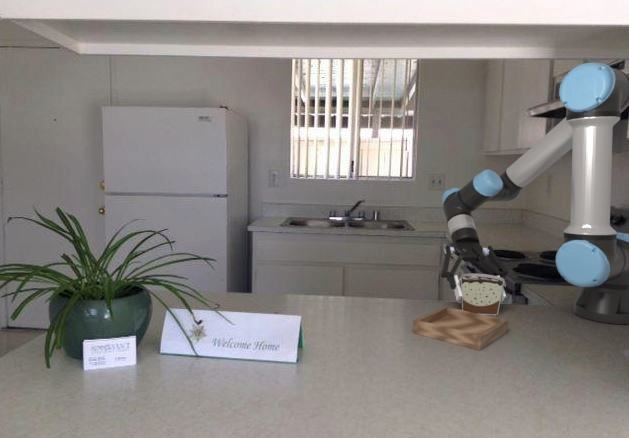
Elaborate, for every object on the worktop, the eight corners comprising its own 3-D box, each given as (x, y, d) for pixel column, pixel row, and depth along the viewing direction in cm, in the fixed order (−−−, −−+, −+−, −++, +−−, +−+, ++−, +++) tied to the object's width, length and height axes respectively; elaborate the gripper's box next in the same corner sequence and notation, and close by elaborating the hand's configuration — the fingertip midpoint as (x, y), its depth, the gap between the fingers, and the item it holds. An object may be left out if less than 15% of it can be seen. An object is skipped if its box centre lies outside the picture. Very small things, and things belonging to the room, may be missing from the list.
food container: (496, 309, 140) (499, 274, 139) (503, 315, 134) (506, 279, 133) (452, 307, 140) (454, 272, 139) (456, 313, 134) (459, 276, 133)
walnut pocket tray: (507, 332, 120) (508, 320, 120) (480, 350, 108) (480, 337, 107) (444, 317, 131) (445, 306, 130) (412, 332, 118) (413, 320, 118)
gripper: (497, 241, 152) (518, 305, 138) (421, 240, 150) (434, 305, 136) (506, 226, 146) (529, 291, 132) (427, 225, 144) (442, 291, 130)
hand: (481, 298), depth 134 cm, fingers closed on food container, 11 cm apart
